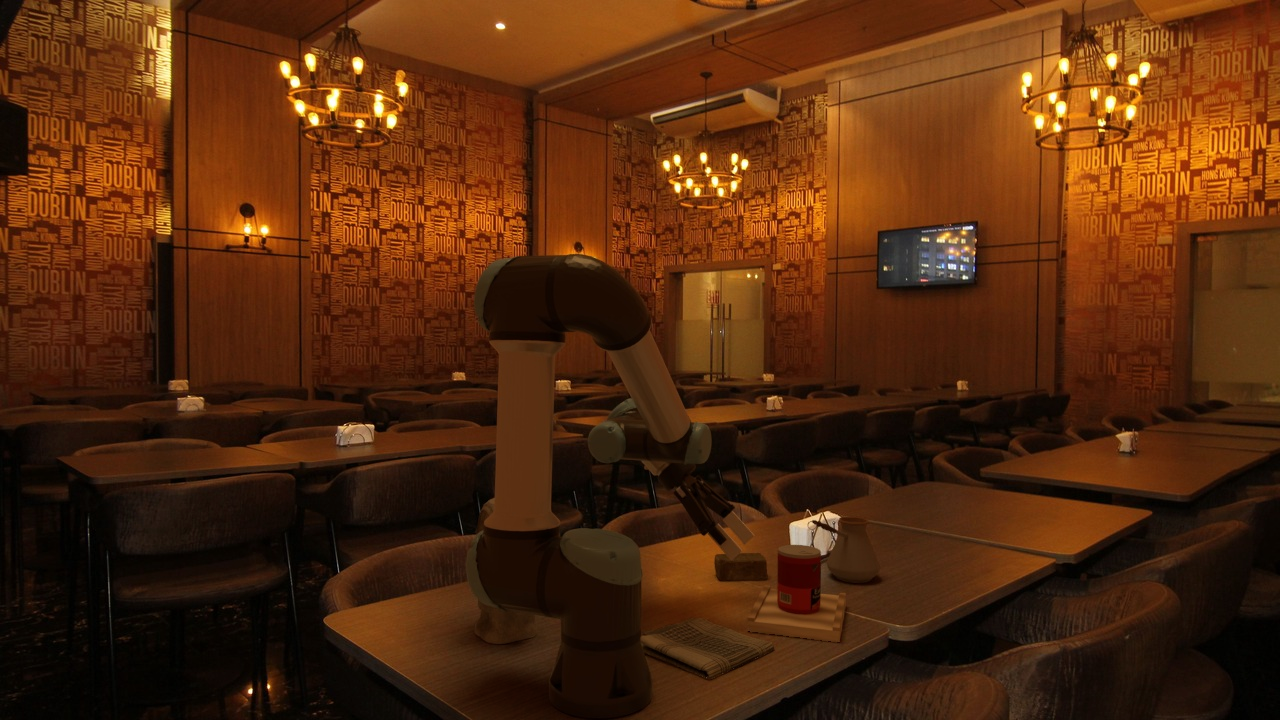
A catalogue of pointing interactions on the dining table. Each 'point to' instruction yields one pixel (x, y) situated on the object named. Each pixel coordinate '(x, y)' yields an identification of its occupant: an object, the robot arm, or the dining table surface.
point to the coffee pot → (851, 551)
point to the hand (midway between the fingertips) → (743, 547)
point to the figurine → (495, 621)
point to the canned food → (799, 579)
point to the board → (798, 618)
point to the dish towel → (703, 647)
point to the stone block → (741, 567)
